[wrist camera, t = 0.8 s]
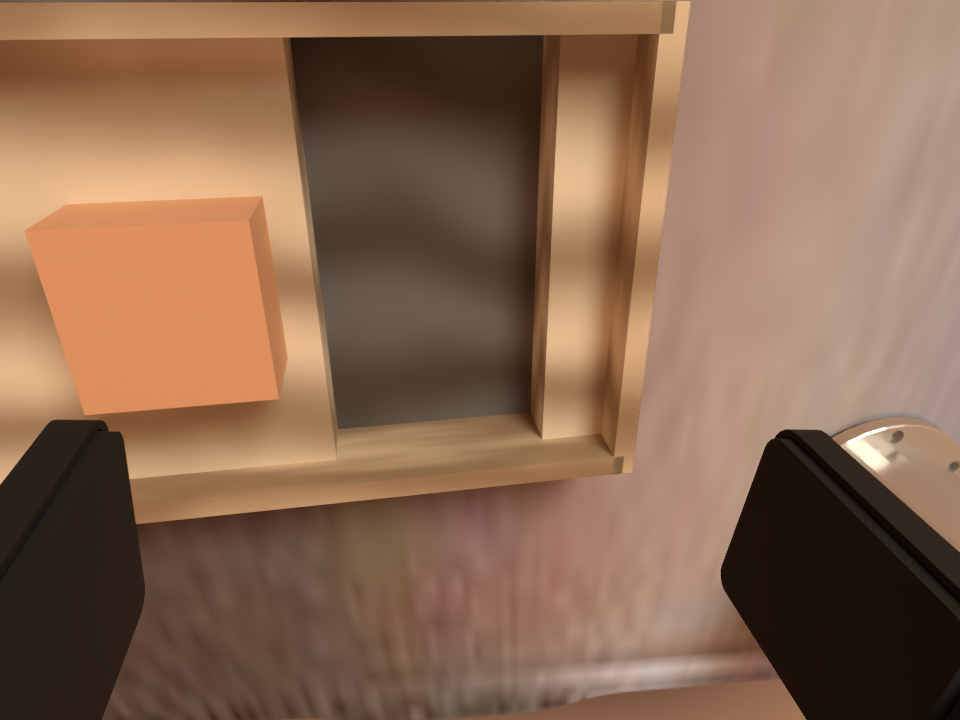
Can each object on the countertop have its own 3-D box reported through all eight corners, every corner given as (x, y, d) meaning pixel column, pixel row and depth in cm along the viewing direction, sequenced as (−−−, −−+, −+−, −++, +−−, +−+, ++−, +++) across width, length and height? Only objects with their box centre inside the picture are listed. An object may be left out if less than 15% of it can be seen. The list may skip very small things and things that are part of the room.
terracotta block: (287, 358, 29) (279, 399, 26) (115, 371, 28) (85, 415, 25) (262, 196, 25) (248, 220, 22) (66, 204, 24) (24, 230, 21)
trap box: (599, 417, 36) (632, 472, 32) (-377, 507, 30) (-504, 591, 26) (637, 4, 27) (690, 1, 23) (-758, 8, 21) (-1058, 4, 16)
